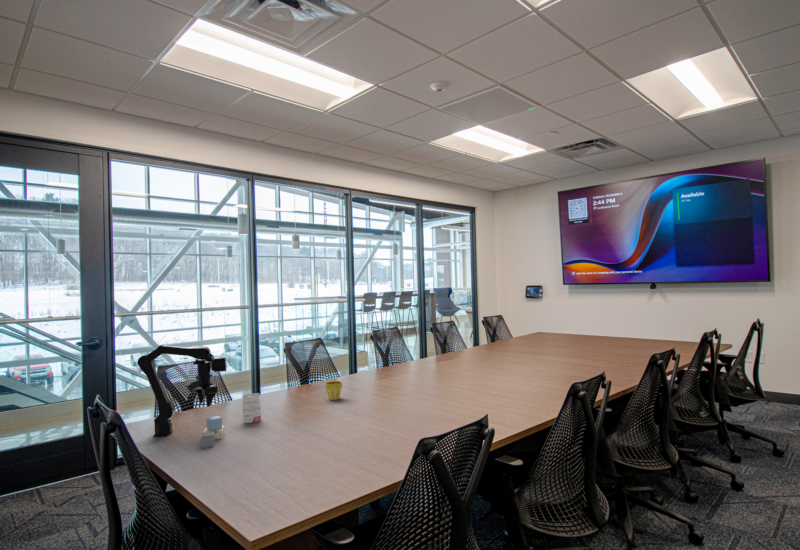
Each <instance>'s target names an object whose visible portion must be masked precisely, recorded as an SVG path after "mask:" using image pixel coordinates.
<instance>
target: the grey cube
mask: <svg viewBox="0 0 800 550" xmlns="http://www.w3.org/2000/svg"><path fill="white" fill-rule="evenodd" d="M200 438H201V439H200V441H201V442H200V443H201V446H200V447H201V448H210V447H215V443H216V442H215V441H216V439H214V431H213V432H205V433H203V432H201V436H200Z"/></svg>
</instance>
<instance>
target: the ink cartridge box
mask: <svg viewBox="0 0 800 550" xmlns="http://www.w3.org/2000/svg"><path fill="white" fill-rule="evenodd" d="M261 409H262V408H261V396H260V393H259V392H257V393H256V392H254V393H253V392H252V393H243V394H242V422H243V423H242V424H250V423H260V422H261V421H262V411H261Z"/></svg>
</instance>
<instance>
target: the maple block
mask: <svg viewBox="0 0 800 550" xmlns="http://www.w3.org/2000/svg"><path fill="white" fill-rule="evenodd" d="M205 432H213V431H210V430H208V429H207V426H206V427H205V429H204V430H203V431H202V433H205ZM224 435H225V425H223V424H222V429H218V430H214V439H215V440H222V439H223V437H224Z"/></svg>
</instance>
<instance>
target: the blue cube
mask: <svg viewBox="0 0 800 550" xmlns="http://www.w3.org/2000/svg"><path fill="white" fill-rule="evenodd" d="M222 425H223V417H222V416H219V415H213V416H210V417H206V427H207V429H208V430H210V431H214V430H218V429H222Z"/></svg>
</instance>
